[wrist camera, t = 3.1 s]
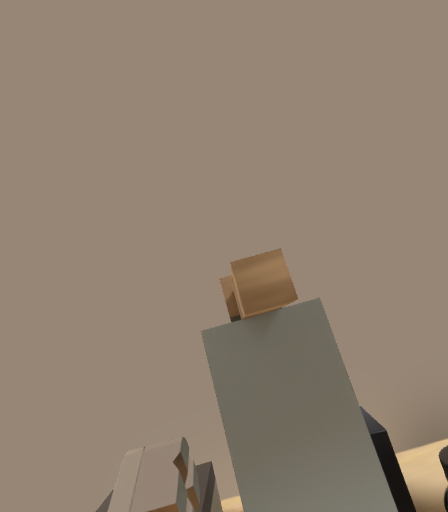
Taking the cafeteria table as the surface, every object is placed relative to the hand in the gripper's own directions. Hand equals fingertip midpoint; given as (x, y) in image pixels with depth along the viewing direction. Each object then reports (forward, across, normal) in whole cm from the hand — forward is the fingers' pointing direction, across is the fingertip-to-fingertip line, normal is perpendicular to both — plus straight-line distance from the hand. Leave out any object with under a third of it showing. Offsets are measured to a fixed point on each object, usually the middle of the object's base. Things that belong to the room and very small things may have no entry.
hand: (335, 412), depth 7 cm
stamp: (+15, 0, +4) cm, 16 cm away
